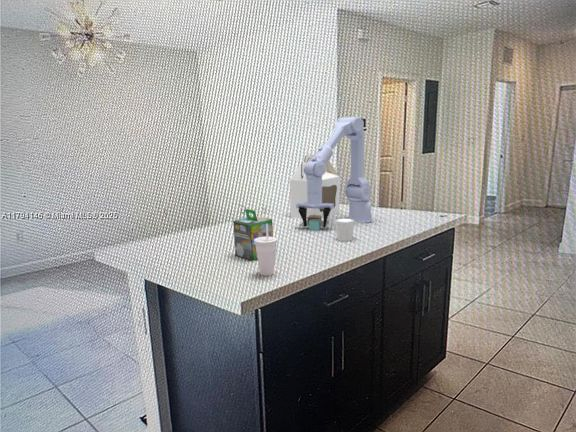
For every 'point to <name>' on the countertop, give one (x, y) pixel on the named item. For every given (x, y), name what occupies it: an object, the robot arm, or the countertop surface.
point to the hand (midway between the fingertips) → (314, 226)
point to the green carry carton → (250, 234)
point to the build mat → (308, 225)
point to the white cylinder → (344, 229)
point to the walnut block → (313, 217)
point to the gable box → (300, 190)
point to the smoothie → (266, 253)
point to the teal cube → (315, 224)
